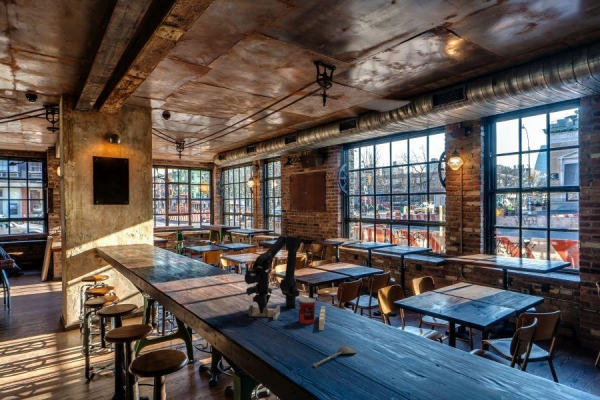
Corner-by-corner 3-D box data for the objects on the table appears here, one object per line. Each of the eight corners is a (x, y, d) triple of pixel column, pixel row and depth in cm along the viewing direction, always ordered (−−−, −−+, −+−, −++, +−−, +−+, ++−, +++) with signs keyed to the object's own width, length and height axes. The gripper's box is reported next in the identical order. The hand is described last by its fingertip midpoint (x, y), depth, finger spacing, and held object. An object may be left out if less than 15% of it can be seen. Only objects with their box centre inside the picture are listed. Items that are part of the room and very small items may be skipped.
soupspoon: (359, 355, 138) (346, 351, 143) (359, 346, 139) (346, 342, 143) (320, 371, 123) (307, 365, 128) (321, 361, 124) (307, 355, 129)
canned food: (303, 318, 178) (304, 296, 178) (317, 321, 174) (317, 299, 174) (295, 322, 172) (295, 300, 172) (309, 325, 167) (310, 302, 168)
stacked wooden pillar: (246, 318, 176) (246, 309, 176) (252, 311, 188) (252, 303, 188) (275, 320, 175) (276, 311, 175) (280, 312, 187) (280, 304, 187)
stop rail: (321, 316, 182) (321, 306, 182) (325, 316, 182) (325, 306, 182) (319, 329, 162) (319, 319, 162) (323, 330, 162) (323, 319, 162)
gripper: (252, 276, 192) (251, 305, 192) (242, 284, 173) (242, 316, 173) (272, 277, 191) (272, 306, 191) (265, 285, 172) (264, 317, 172)
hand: (262, 311), depth 182 cm, fingers open, 6 cm apart
